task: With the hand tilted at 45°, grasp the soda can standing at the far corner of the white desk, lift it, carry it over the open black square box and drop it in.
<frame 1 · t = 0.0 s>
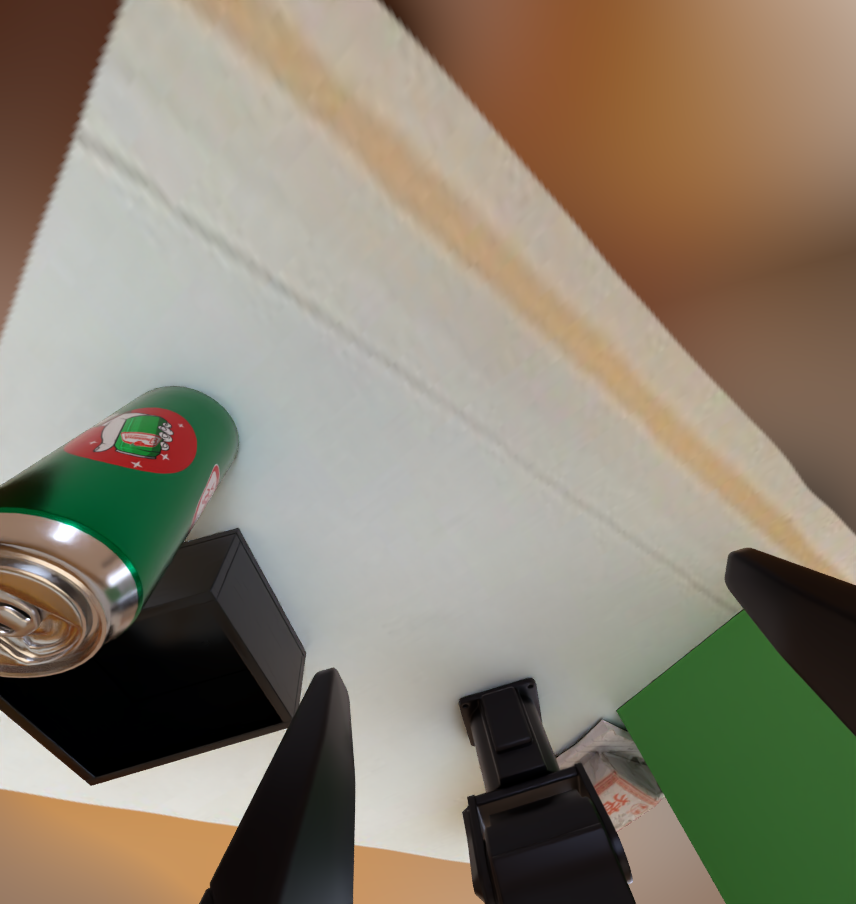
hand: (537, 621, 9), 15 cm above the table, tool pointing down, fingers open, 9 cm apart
hardback book: (710, 663, 37), on the table
packaged product: (565, 777, 42), on the table
soda can: (190, 429, 21), on the table
open black square box: (181, 622, 26), on the table
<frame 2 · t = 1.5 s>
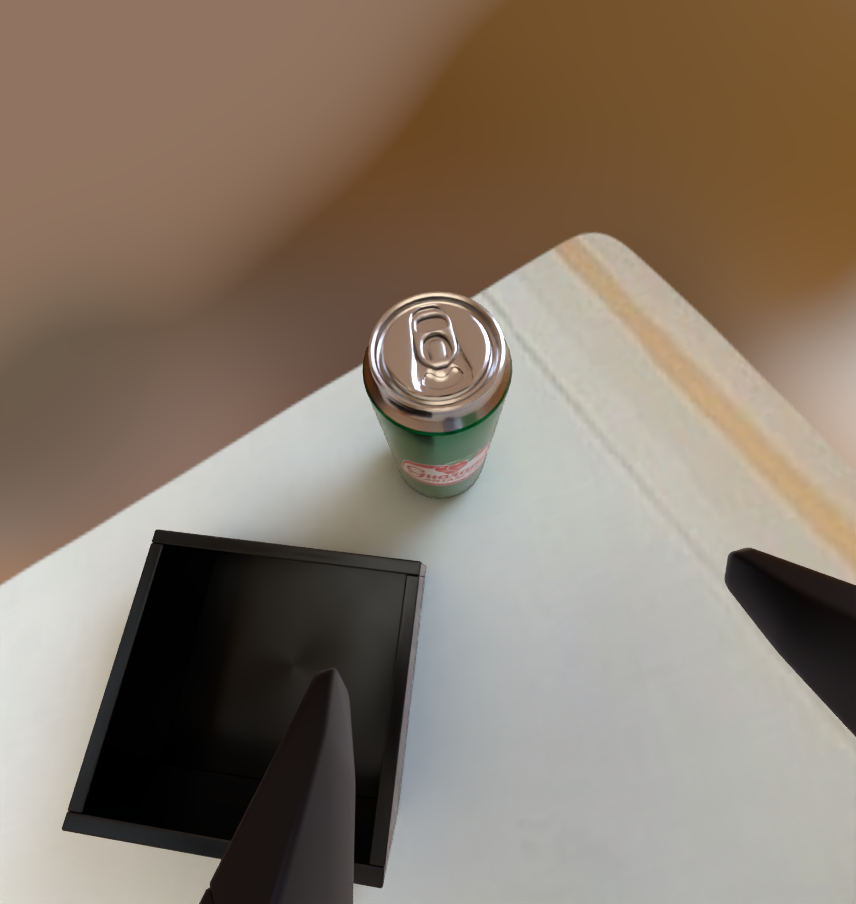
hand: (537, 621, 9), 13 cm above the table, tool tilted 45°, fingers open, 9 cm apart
soda can: (440, 459, 24), on the table
open black square box: (297, 662, 21), on the table
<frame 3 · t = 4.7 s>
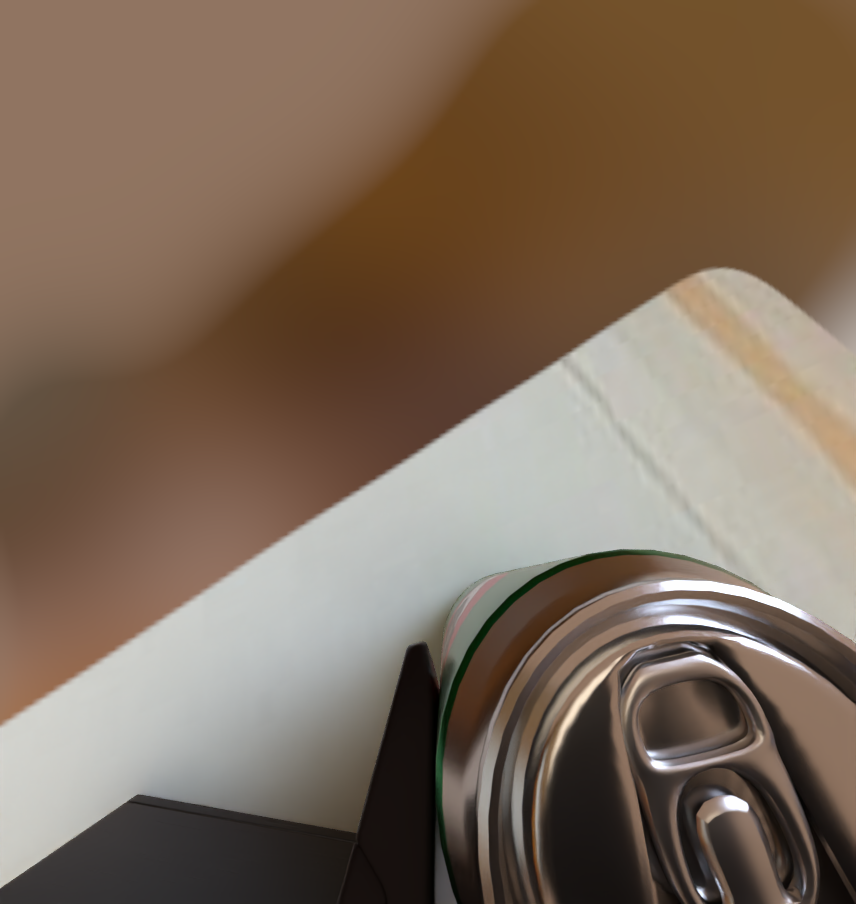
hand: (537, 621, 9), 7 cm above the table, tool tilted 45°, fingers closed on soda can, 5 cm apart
soda can: (511, 644, 15), on the table, touching gripper
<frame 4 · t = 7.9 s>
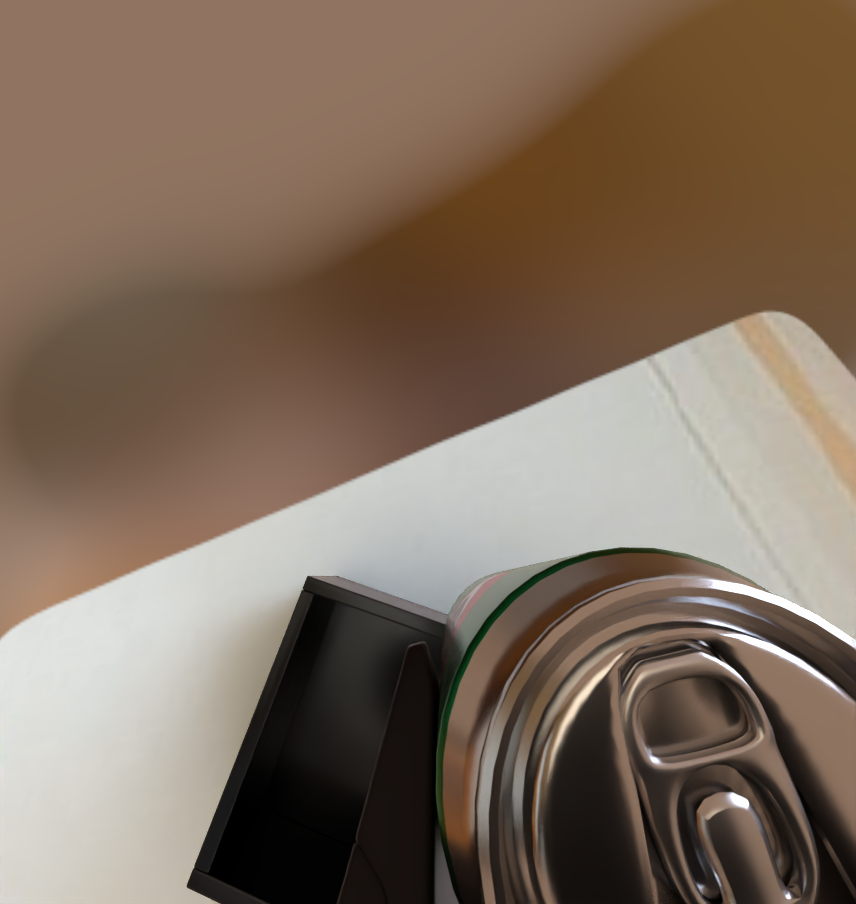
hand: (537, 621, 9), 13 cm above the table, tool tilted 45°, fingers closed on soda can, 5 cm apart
soda can: (511, 643, 15), point 7 cm above the table, touching gripper
open black square box: (408, 729, 20), on the table
when the fingers open (7 cm above the table, at t = 11.3 s): soda can stays where it is, resting on open black square box.
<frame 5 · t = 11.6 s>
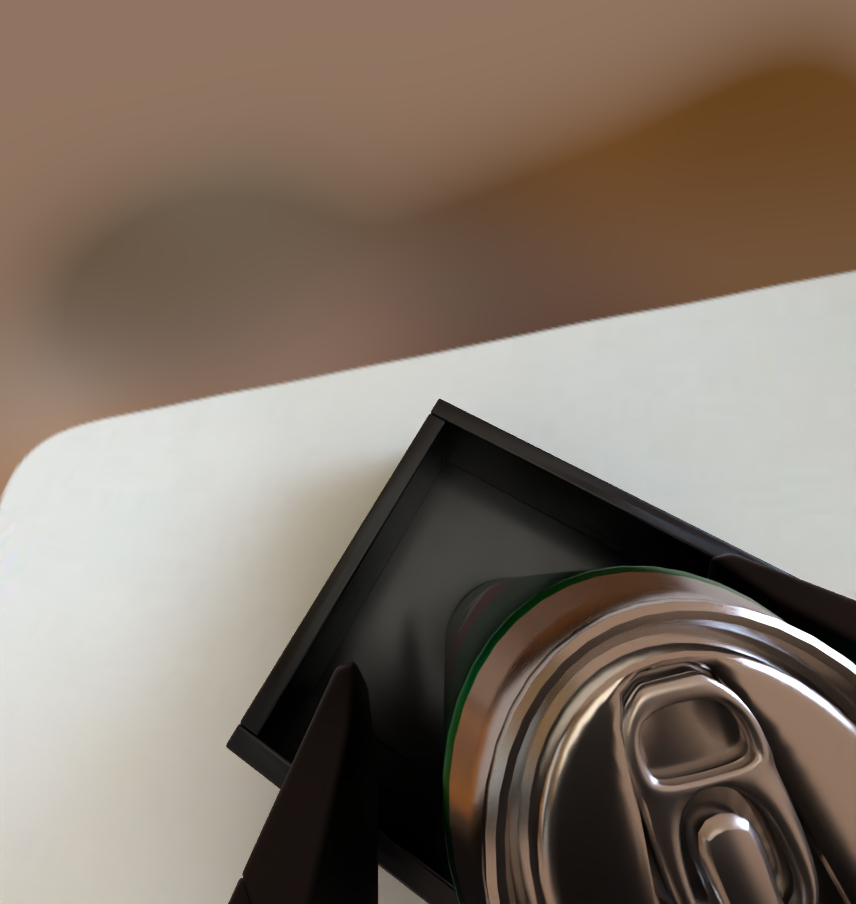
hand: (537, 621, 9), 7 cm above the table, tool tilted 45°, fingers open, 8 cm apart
soda can: (513, 649, 15), resting on open black square box
open black square box: (509, 643, 15), on the table
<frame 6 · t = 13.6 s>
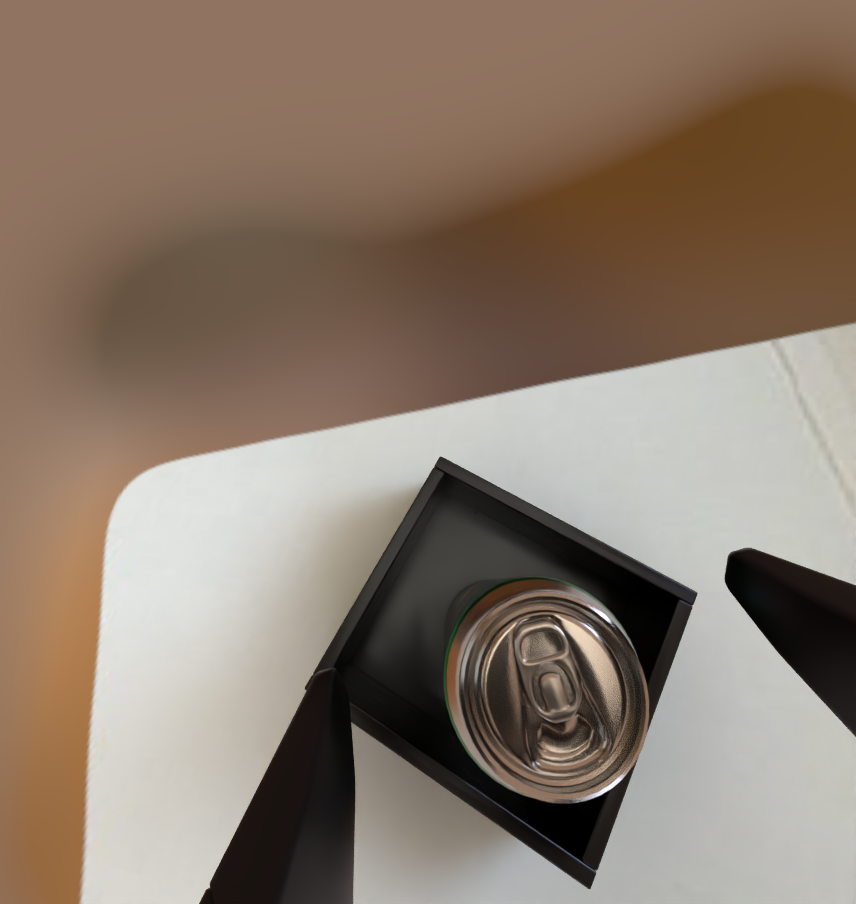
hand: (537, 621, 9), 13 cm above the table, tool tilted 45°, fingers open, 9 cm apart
soda can: (493, 631, 21), resting on open black square box
open black square box: (490, 627, 21), on the table
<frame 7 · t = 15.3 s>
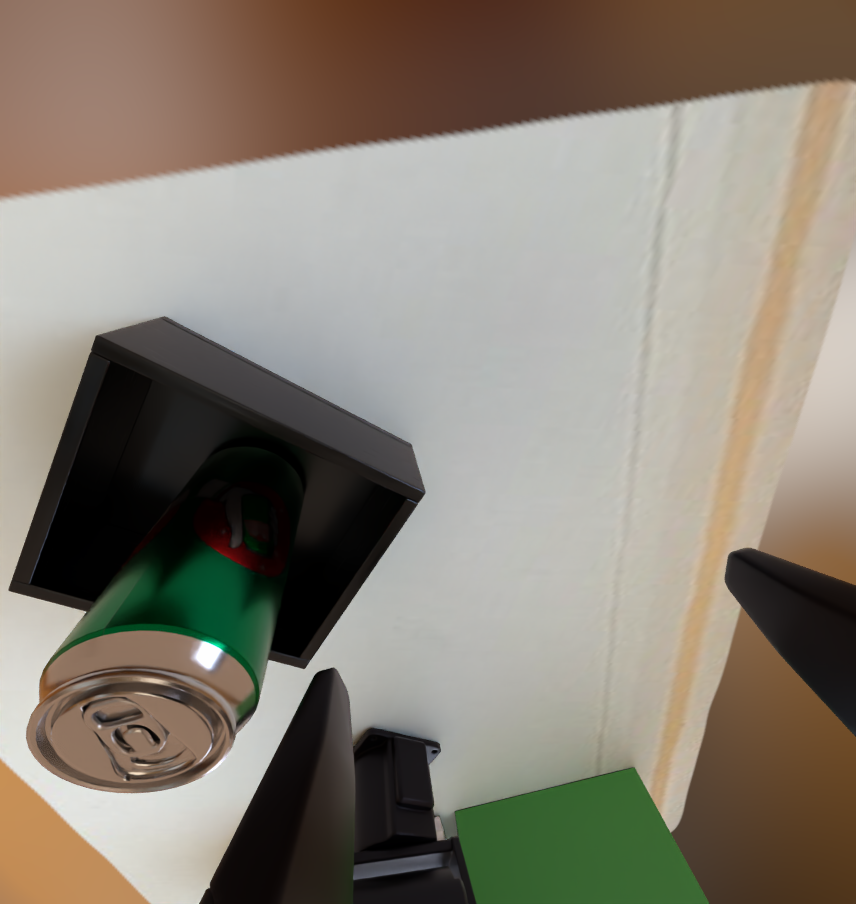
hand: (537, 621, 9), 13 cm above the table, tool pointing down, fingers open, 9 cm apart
hardback book: (544, 806, 40), on the table
soda can: (253, 485, 20), resting on open black square box
open black square box: (252, 480, 21), on the table
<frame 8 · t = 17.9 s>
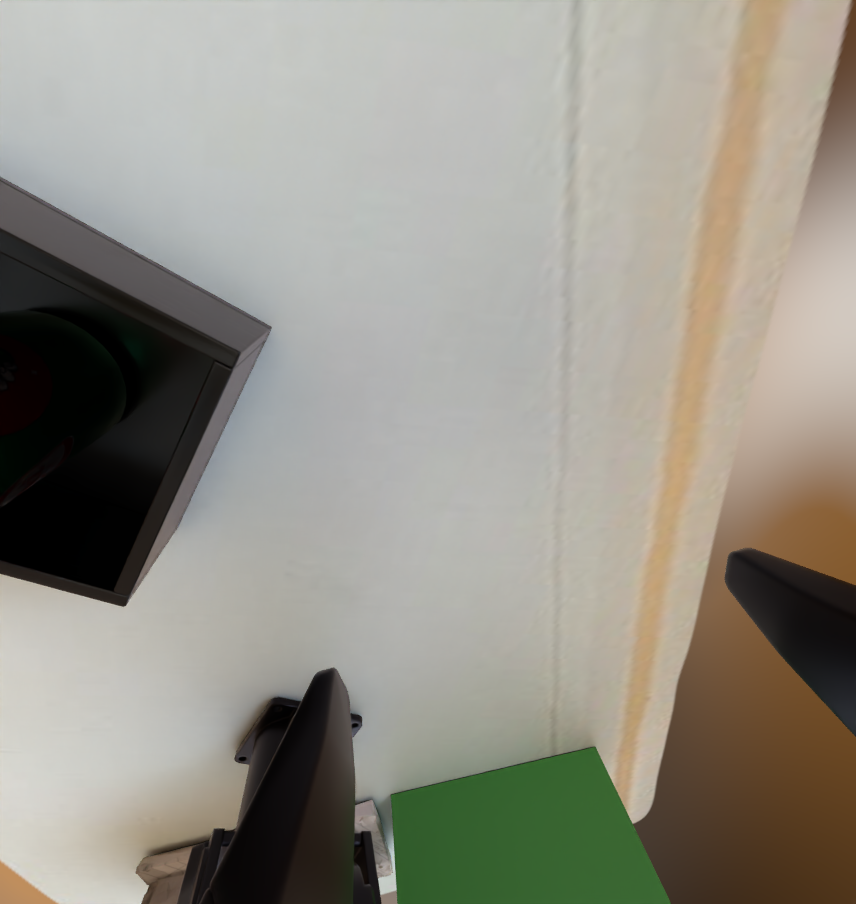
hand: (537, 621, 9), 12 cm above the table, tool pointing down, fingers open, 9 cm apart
hardback book: (495, 790, 36), on the table
packaged product: (278, 847, 34), on the table
soda can: (63, 375, 16), resting on open black square box
open black square box: (64, 369, 16), on the table
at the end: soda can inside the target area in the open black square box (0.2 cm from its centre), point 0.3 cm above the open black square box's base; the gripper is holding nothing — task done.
